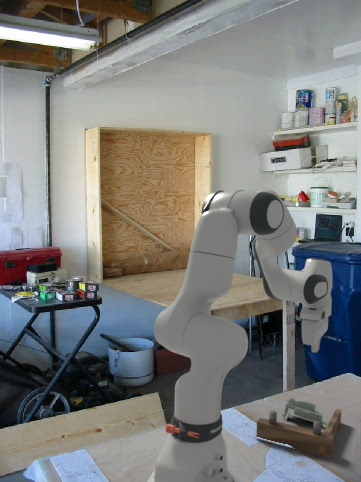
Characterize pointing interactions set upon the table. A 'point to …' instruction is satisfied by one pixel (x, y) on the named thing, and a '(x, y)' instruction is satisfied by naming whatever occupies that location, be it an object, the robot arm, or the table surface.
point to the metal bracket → (304, 411)
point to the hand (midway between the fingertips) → (315, 351)
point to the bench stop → (301, 434)
